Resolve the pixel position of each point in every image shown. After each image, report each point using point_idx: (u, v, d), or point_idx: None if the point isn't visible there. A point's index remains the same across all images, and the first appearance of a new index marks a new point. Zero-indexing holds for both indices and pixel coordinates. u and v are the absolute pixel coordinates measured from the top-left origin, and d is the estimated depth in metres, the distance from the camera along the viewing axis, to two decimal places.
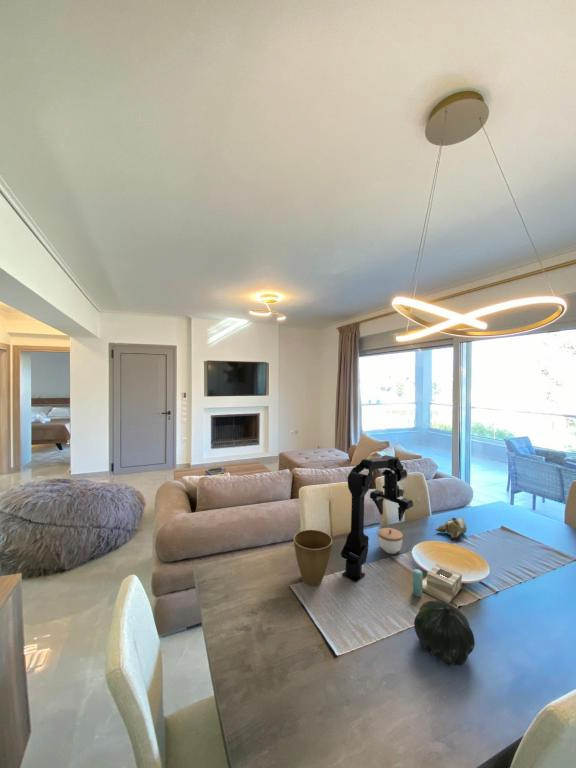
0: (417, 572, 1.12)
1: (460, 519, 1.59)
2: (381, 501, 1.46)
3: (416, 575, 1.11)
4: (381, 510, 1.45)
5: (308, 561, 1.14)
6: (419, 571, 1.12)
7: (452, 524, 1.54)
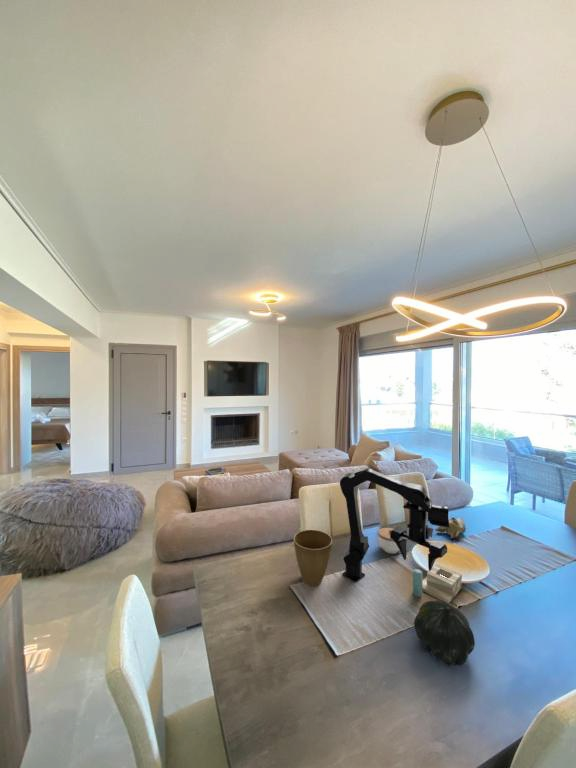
0: (417, 572, 1.12)
1: (459, 519, 1.59)
2: (404, 542, 1.16)
3: (416, 575, 1.11)
4: (404, 554, 1.15)
5: (308, 561, 1.14)
6: (419, 571, 1.12)
7: (451, 524, 1.54)
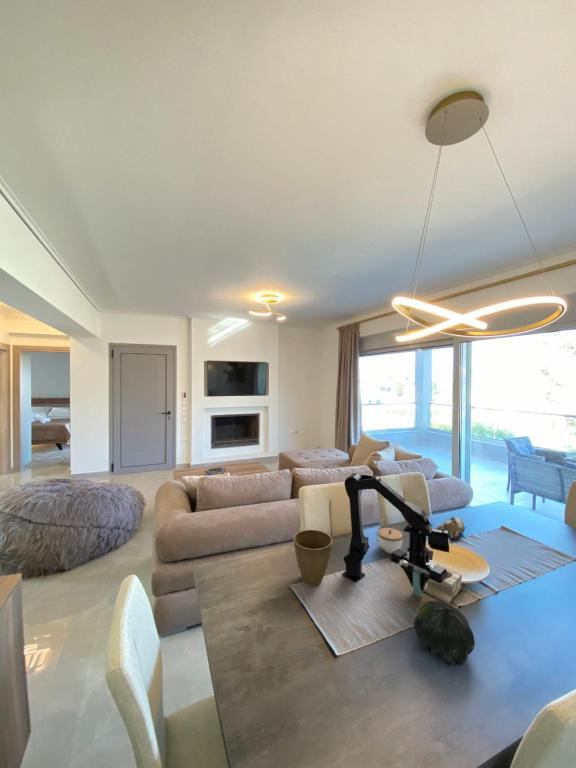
0: (417, 572, 1.12)
1: (458, 519, 1.59)
2: (412, 568, 1.14)
3: (416, 575, 1.11)
4: (412, 580, 1.13)
5: (308, 561, 1.14)
6: (419, 571, 1.12)
7: (451, 524, 1.54)
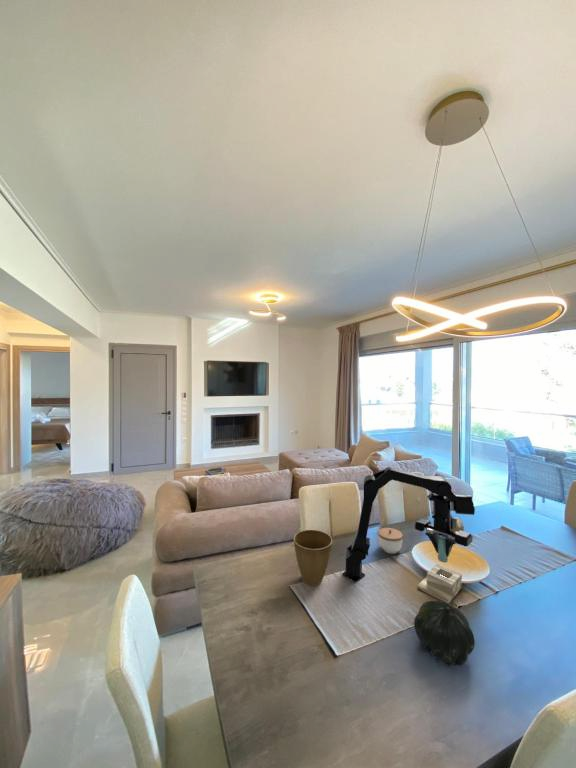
0: (442, 538, 1.15)
1: (457, 518, 1.60)
2: (437, 535, 1.17)
3: (441, 541, 1.14)
4: (437, 547, 1.16)
5: (308, 561, 1.14)
6: (444, 538, 1.15)
7: None
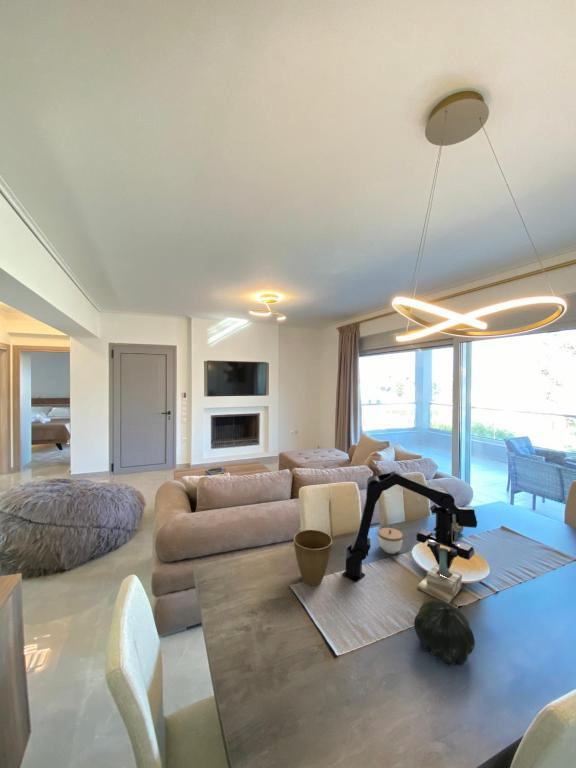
0: (444, 550, 1.16)
1: None
2: (438, 547, 1.18)
3: (443, 554, 1.15)
4: (438, 559, 1.17)
5: (308, 561, 1.14)
6: (445, 550, 1.16)
7: None
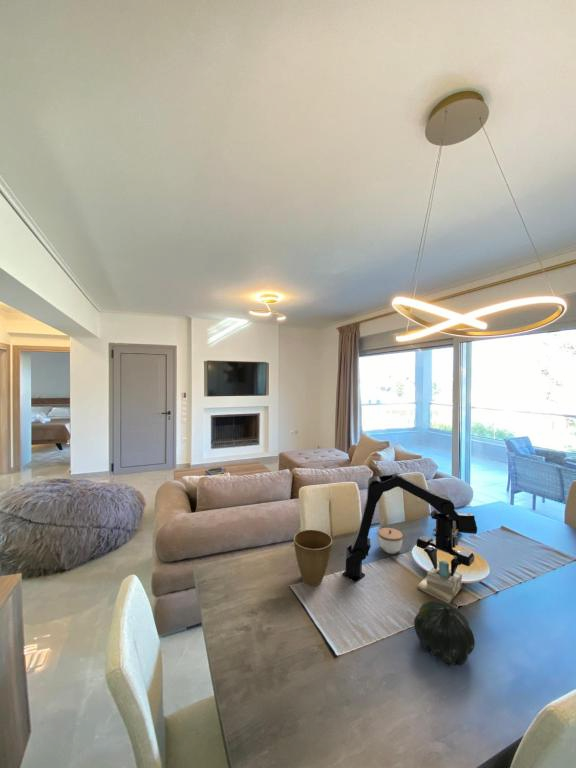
0: (444, 563, 1.15)
1: None
2: (435, 552, 1.19)
3: (443, 567, 1.14)
4: (435, 563, 1.18)
5: (308, 561, 1.14)
6: (445, 563, 1.16)
7: None
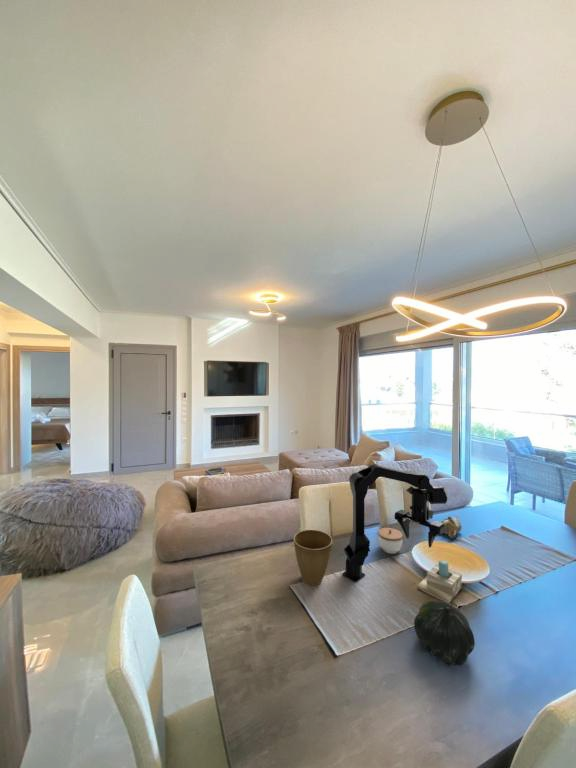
0: (443, 563, 1.16)
1: (454, 518, 1.61)
2: (407, 523, 1.30)
3: (442, 566, 1.15)
4: (407, 533, 1.29)
5: (308, 561, 1.14)
6: (445, 562, 1.16)
7: (449, 523, 1.55)
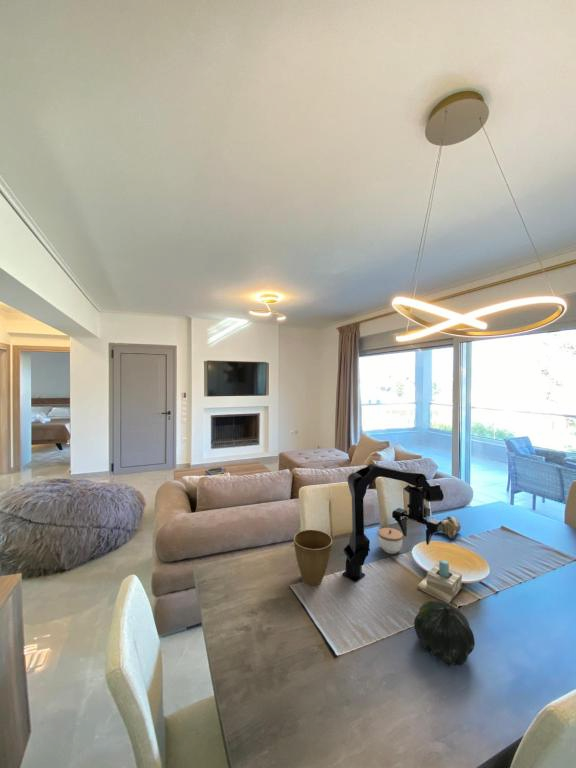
0: (444, 562, 1.16)
1: (453, 517, 1.61)
2: (405, 521, 1.31)
3: (443, 566, 1.15)
4: (405, 531, 1.30)
5: (308, 561, 1.14)
6: (445, 562, 1.16)
7: (448, 523, 1.55)
